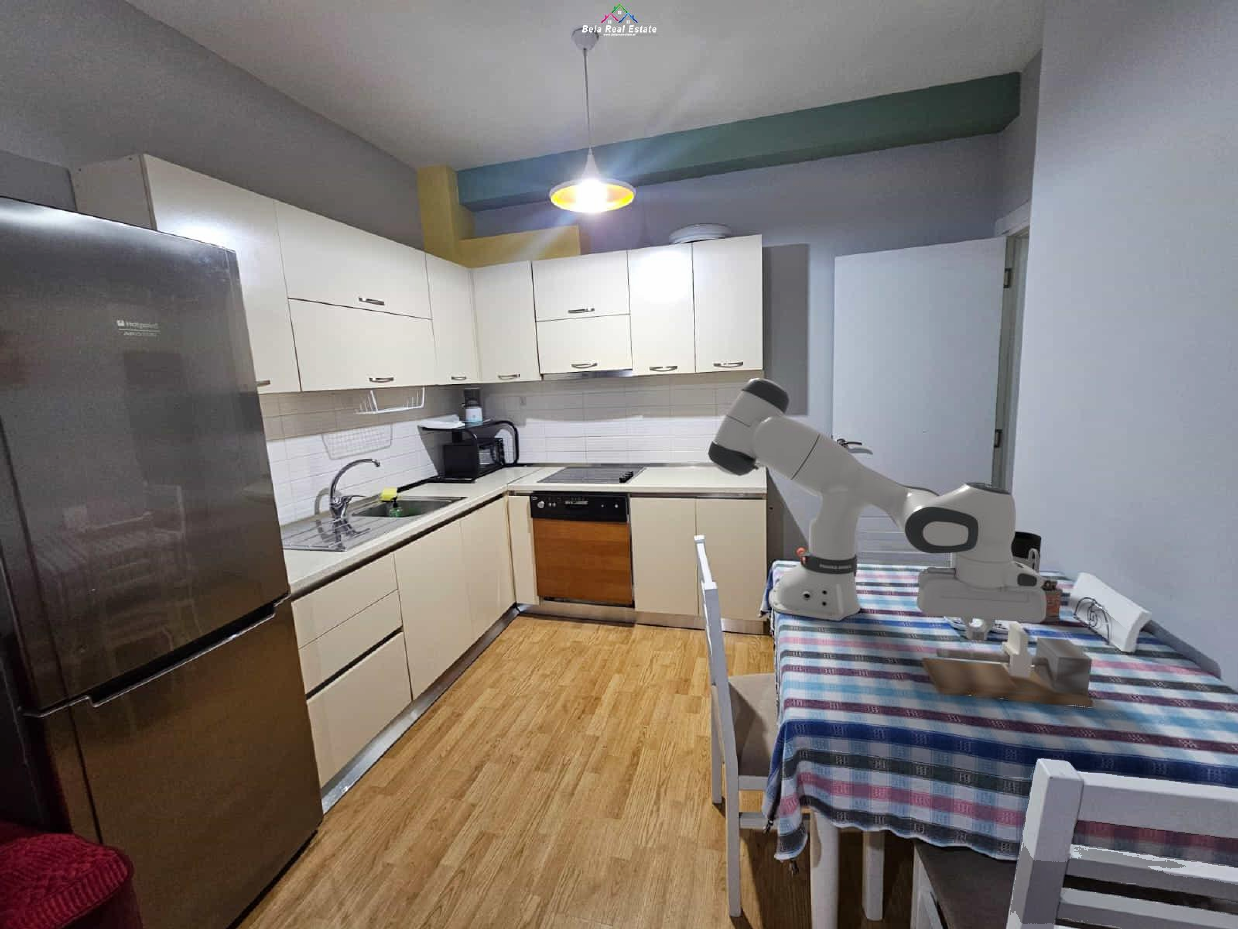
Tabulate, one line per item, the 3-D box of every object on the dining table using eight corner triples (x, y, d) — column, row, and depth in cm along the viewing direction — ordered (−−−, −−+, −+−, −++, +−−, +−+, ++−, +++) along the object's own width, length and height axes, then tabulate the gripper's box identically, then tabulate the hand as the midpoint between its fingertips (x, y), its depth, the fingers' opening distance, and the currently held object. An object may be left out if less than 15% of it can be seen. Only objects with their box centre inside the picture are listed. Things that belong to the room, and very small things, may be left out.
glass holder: (1031, 583, 141) (1036, 531, 138) (1054, 606, 128) (1060, 548, 125) (993, 580, 144) (998, 529, 141) (1012, 602, 131) (1017, 546, 128)
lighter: (1052, 614, 124) (1057, 575, 122) (1063, 621, 120) (1067, 581, 119) (1017, 614, 124) (1020, 575, 123) (1026, 621, 121) (1030, 581, 119)
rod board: (939, 693, 96) (942, 651, 95) (922, 664, 106) (924, 626, 104) (1091, 708, 90) (1097, 664, 89) (1058, 676, 100) (1063, 635, 98)
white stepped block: (1011, 675, 95) (1015, 633, 94) (1000, 662, 99) (1003, 622, 98) (1030, 677, 94) (1034, 635, 93) (1017, 664, 99) (1022, 623, 97)
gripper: (924, 572, 95) (920, 641, 97) (1054, 579, 89) (1047, 652, 92) (914, 560, 101) (910, 626, 103) (1035, 566, 95) (1028, 634, 98)
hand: (975, 638), depth 97 cm, fingers closed
